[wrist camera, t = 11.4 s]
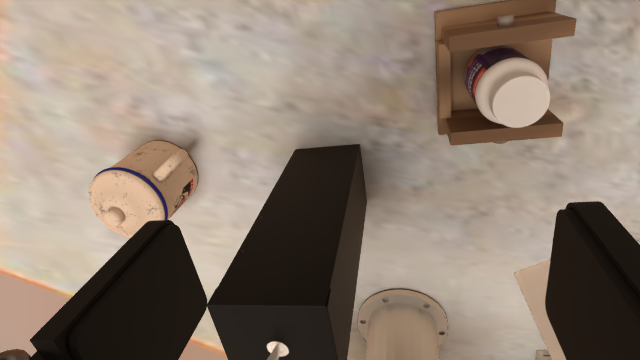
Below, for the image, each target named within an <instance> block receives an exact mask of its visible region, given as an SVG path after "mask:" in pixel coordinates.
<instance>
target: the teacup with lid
mask: <svg viewBox="0 0 640 360" xmlns="http://www.w3.org/2000/svg"><path fill="white" fill-rule="evenodd" d="M197 181H198V175H197V170H196V167H195V165H194V163H193V161H192V160H191V158H190V157H189V156H188V153H187V152H186V151H185V150H184V149H180V148H179V147H177V146H175V145H173V144H171V143H168V142H164V141H152V142H148V143H146V144H144V145H143V146H141V147H140V148H138V149H137V150H135V151H134V152H132V153H131V154H129V155H128V156H127V157H125V158H124V159H122V160H121V161H119V162H118V163H116V164H115V165H114V166H112V167H111V168H107V169H104V170H102V171H101V172H99V173H98V174H97V175H96V176H95V177H94V179H93V181H92V183H91V185H90V189H89V199H90V203H91V206H92V208H93V210H94V212H95V214H96V215H97V217H98V218H99V219H100V220H101V221H102V222H103V223H104V224H105V225H106V226H107V227H108V228H110V229H111V230H113V231H114V232H116V233H118V234H120V235H122V236H125V237H129V238H131V237H132V236H133V235H134V234H135V233H136V232H137V231H138V230H139V229H140V228H141V227H142V226H143V225H144V224H145V223H146V222H148V221H154V220H168V219H169V218H170V217H171V216H172V215H173V214H174V213H175V212H176V211H177V210H178V208H179V207H180V206H181V205H182V204H183V203H184V202H185V201H186V200H187V199H188V198H189V196H190V195H191V194H192V193H193V192H194V190H195V189H196V186H197Z"/></svg>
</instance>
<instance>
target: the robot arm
mask: <svg viewBox="0 0 640 360" xmlns="http://www.w3.org/2000/svg"><path fill="white" fill-rule="evenodd" d="M206 308H207V298H206V295H205V292H204V289H203V287H202V284H201V282H200V279H199V277H198V274H197V271H196V269H195V266H194V264H193V261H192V259H191V256H190V253H189V251H188V248H187V246H186V243H185V241H184V238H183V235H182V233H181V230H180V228H179V227H178V226H177V225H174V223H173V222H172V221H170V220H154V221H148V222H146V223H145V224H144V225H143V226H142V227H141V228H140V229H139V230H138V231H137V232H136V233H135V234H134V235H133V236H132V237H131V238H130V239H129V240H128V241H127V242H126V243H125V244H124V245H123V246H122V247H121V248H120V249H119V250H118V251H117V252H116V253H115V254H114V255H113V256H112V257H111V258H110V259H109V260H108V261H107V262H106V263H105V265H104V266H103V267H102V268H101V269H100V270H99V271H98V272H97V273H96V274H95V275H94V276H93V277H92V278H91V279H90V280H89V281H88V282H87V283H86V284H85V285H84V286H83V287H82V288H81V289H80V290H79V291H78V292H77V293H76V294H75V295H74V296H73V297H72V298H71V299H70V300H69V301H68V302H67V303H66V304H65V305H64V306H63V307H62V308H61V309H60V310H59V311H58V312H57V313H56V314H55V315H54V316H53V317H52V318H51V319H50V320H49V321H48V322H47V323H46V324H45V325H44V326H43V327H42V328H41V329H40V330H39V331H38V332H37V333H36V334H35V335H34V336H33V337H32V338H31V339H30V341H31V343H32V344H33V345H34V347H35V348H36V350H37V352H36V353H35V354H34V355H33V356H32V357H30V355H29V354H28V353H27V352H26V351H24V350H20V349H14V350H7V351H4V352H1V353H0V360H178V359H179V357H180V355H181V354H182V352H183V350H184V348H185V347H186V345H187V343H188V341H189V340H190V338H191V336H192V334H193V332H194V331H195V329H196V327H197V325H198V323H199V322H200V320H201V318H202V316H203V315H204V313H205V311H206ZM545 308H546V313H547V316H548V319H549V321H550V323H551V326H552V328H553V330H554V333H555V335H556V337H557V340H558V342H559V344H560V346H561V349H562V351H563V353H564V356H565V358H566V360H640V245H639V244H638V242H637V241H636V240H635V239H634V238H633V237H632V236H631V235H630V233H629V232H628V231H627V230H626V229H625V228H624V227H623V226H622V224H621V223H620V222H619V221H618V220H617V219H616V218H615V217H614V215H613V214H612V213H611V212H610V211H609V210H608V209H607V207H606V206H605V205H604V204H603V203H601V202H598V201H597V202H574V203H569V204H568V205H567V206H566V209H564V210H559V211H558V212H557V216H556V224H555V231H554V238H553V246H552V253H551V260H550V267H549V275H548V282H547V289H546V297H545ZM358 328H359V331H360V334H361V335H362V337H363V338H364V339H365V340H366V341H367V346H366V359H365V360H440V354H439V346H440V345H441V344H442V343H443V342H444V341H445V339H446V336H447V333H448V322H447V318H446V314H445V313H444V311H443V309H442V308H441V307H440V306H439V304H438V303H436V302H435V301H434V300H433V299H431V298H429V297H427V296H426V295H423V294H421V293H418V292H414V291H409V290H399V289H397V290H388V291H384V292H380V293H378V294H375V295H373V296H372V297H370V298H369V299H367V300H366V301H365V302H364V303H363V305H362V307H361V308H360V311H359V314H358Z"/></svg>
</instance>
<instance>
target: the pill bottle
mask: <svg viewBox="0 0 640 360" xmlns="http://www.w3.org/2000/svg"><path fill="white" fill-rule="evenodd" d="M464 81H465V85H466V88H467V90H468V92H469V94H470V95H471V97H472V99H473V100H474V102H475V104H476V105H477V107H478V109H479V110H480V112H481V113H482V114H483V115H484V116H485V117H486V118H487V119H489V120H491V121H493V122H495V123H499V124H503V125H505V126H508V127H513V128H520V127H525V126H528V125H531V124H533V123H535V122H536V121H538V120H539V119H540V118H541V117H542V116H543V115H544V114H545V112H546V111H547V109H548V107H549V104H550V91H549V88H548V80H547V77H546V74H545V72H544V71H543V69H542V68H541V67H540V66H539V65H538V64H537V63H535V62H534V61H532V60H531V59H529V58H527V57H526V56H524V55H523V54H521V53H520V52H518V51H517V50H515V49H514V48H512V47H509V46H506V45H500V46H492V47H486V48H484V49H482V50H480V51H479V52H477V53H476V54H475V55H474V56H473V57H472V58H471V59H470V61H469V62H468V64H467V66H466V69H465V73H464Z"/></svg>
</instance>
